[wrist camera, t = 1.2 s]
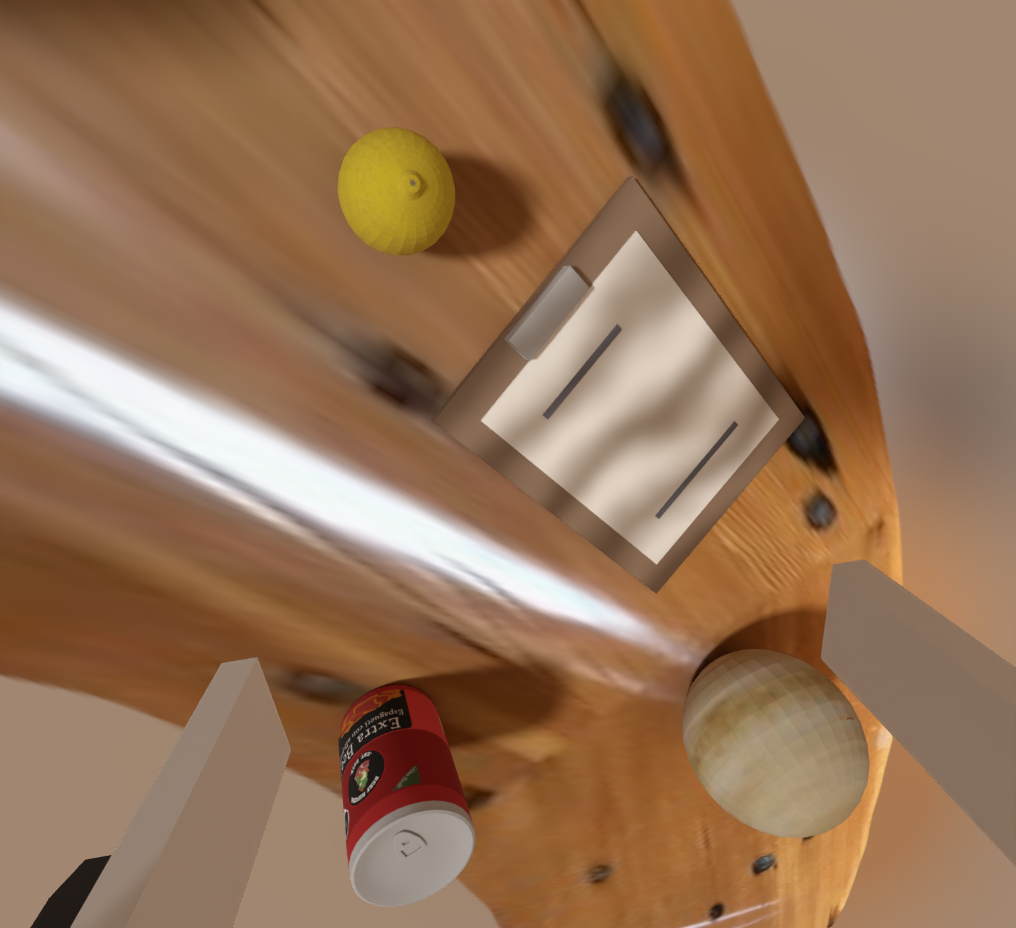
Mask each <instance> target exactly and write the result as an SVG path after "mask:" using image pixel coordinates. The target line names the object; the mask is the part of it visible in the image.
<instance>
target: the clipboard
mask: <svg viewBox="0 0 1016 928" xmlns="http://www.w3.org/2000/svg"><path fill="white" fill-rule="evenodd" d="M804 418H805V417H804V416H803V414H802V413H801V412H800V410H799V409H798V407H797V406H796V405H795V403H794V402H793V400H792V399H791V398H790V396H789V395H788V393H787V392H786V391H785V389H784V388H783V386H782V385H781V384H780V382H779V381H778V379H777V378H776V377H775V375H774V374H773V372H772V371H771V370H770V368H769V367H768V365H767V364H766V363H765V361H764V360H763V358H762V357H761V356H760V354H759V353H758V351H757V350H756V349H755V347H754V346H753V344H752V343H751V342H750V340H749V339H748V337H747V336H746V335H745V333H744V332H743V330H742V329H741V328H740V326H739V325H738V323H737V322H736V320H735V319H734V318H733V316H732V315H731V313H730V312H729V311H728V309H727V308H726V306H725V305H724V304H723V302H722V301H721V299H720V298H719V297H718V295H717V294H716V292H715V291H714V290H713V288H712V287H711V285H710V284H709V283H708V281H707V280H706V278H705V277H704V276H703V274H702V273H701V271H700V270H699V269H698V267H697V266H696V264H695V263H694V262H693V260H692V259H691V257H690V256H689V255H688V253H687V252H686V250H685V249H684V248H683V246H682V245H681V243H680V242H679V241H678V239H677V238H676V236H675V235H674V234H673V232H672V231H671V229H670V228H669V227H668V225H667V224H666V222H665V221H664V220H663V218H662V217H661V215H660V214H659V213H658V211H657V210H656V208H655V207H654V205H653V204H652V203H651V201H650V200H649V198H648V197H647V196H646V194H645V193H644V191H643V190H642V189H641V187H640V186H639V184H638V183H637V182H636V180H635V179H634V177H633V176H632V177H628V178H627V179H626V180H625V181H624V183H623V184H622V185H621V186H620V188H619V189H618V190H617V191H616V192H615V194H614V195H613V196H612V197H611V199H610V200H609V201H608V202H607V204H606V205H605V206H604V207H603V208H602V210H601V211H600V212H599V213H598V215H597V216H596V217H595V218H594V220H593V221H592V222H591V223H590V224H589V226H588V227H587V228H586V229H585V231H584V232H583V233H582V234H581V236H580V237H579V238H578V239H577V240H576V242H575V243H574V244H573V245H572V247H571V248H570V249H569V250H568V252H567V253H566V254H565V255H564V257H563V258H562V259H561V260H560V261H559V263H558V264H557V265H556V266H555V268H554V269H553V270H552V271H551V273H550V274H549V275H548V276H547V277H546V279H545V280H544V281H543V282H542V284H541V285H540V286H539V287H538V289H537V290H536V291H535V292H534V293H533V295H532V296H531V297H530V298H529V300H528V301H527V302H526V303H525V305H524V306H523V307H522V308H521V309H520V311H519V312H518V313H517V314H516V316H515V317H514V318H513V319H512V321H511V322H510V323H509V324H508V325H507V327H506V328H505V329H504V330H503V332H502V333H501V334H500V335H499V337H498V338H497V339H496V340H495V341H494V343H493V344H492V345H491V346H490V348H489V349H488V350H487V351H486V353H485V354H484V355H483V356H482V357H481V359H480V360H479V361H478V362H477V364H476V365H475V366H474V367H473V369H472V370H471V371H470V372H469V373H468V375H467V376H466V377H465V378H464V380H463V381H462V382H461V383H460V385H459V386H458V387H457V388H456V390H455V391H454V392H453V393H452V394H451V396H450V397H449V398H448V399H447V401H446V402H445V403H444V404H443V406H442V407H441V408H440V409H439V410H438V412H437V413H436V414H435V415H434V417H433V418H432V419H431V420H432V421H433V422H434V423H435V424H437V425H438V426H439V427H440V428H442V429H443V430H444V431H446V432H447V433H448V434H450V435H451V436H452V437H453V438H455V439H456V440H457V441H459V442H460V443H461V444H463V445H464V446H465V447H466V448H468V449H469V450H470V451H472V452H473V453H474V454H476V455H477V456H478V457H479V458H481V459H482V460H483V461H485V462H486V463H487V464H489V465H490V466H491V467H492V468H494V469H495V470H496V471H498V472H499V473H500V474H502V475H503V476H504V477H505V478H507V479H508V480H509V481H511V482H512V483H513V484H515V485H516V486H517V487H518V488H520V489H521V490H522V491H524V492H525V493H526V494H528V495H529V496H530V497H531V498H533V499H534V500H535V501H537V502H538V503H539V504H541V505H542V506H543V507H544V508H546V509H547V510H548V511H550V512H551V513H552V514H554V515H555V516H556V517H557V518H559V519H560V520H561V521H563V522H564V523H565V524H567V525H568V526H569V527H570V528H572V529H573V530H574V531H576V532H577V533H578V534H580V535H581V536H582V537H583V538H585V539H586V540H587V541H589V542H590V543H591V544H593V545H594V546H595V547H596V548H598V549H599V550H600V551H602V552H603V553H604V554H606V555H607V556H608V557H609V558H611V559H612V560H613V561H615V562H616V563H617V564H619V565H620V566H621V567H622V568H624V569H625V570H626V571H628V572H629V573H630V574H632V575H633V576H634V577H635V578H637V579H638V580H639V581H641V582H642V583H643V584H645V585H646V586H647V587H648V588H650V589H651V590H652V591H654V592H655V593H656V594H657V592H658V591H659V590H660V589H661V588H662V586H663V585H664V584H665V583H666V582H667V581H668V579H669V578H670V577H671V576H672V575H673V573H674V572H675V571H676V570H677V569H678V567H679V566H680V565H681V564H682V563H683V562H684V560H685V559H686V558H687V557H688V556H689V554H690V553H691V552H692V551H693V550H694V549H695V547H696V546H697V545H698V544H699V543H700V541H701V540H702V539H703V538H704V537H705V536H706V534H707V533H708V532H709V531H710V530H711V528H712V527H713V526H714V525H715V524H716V523H717V521H718V520H719V519H720V518H721V517H722V515H723V514H724V513H725V512H726V511H727V510H728V508H729V507H730V506H731V505H732V504H733V502H734V501H735V500H736V499H737V498H738V496H739V495H740V494H741V493H742V492H743V491H744V489H745V488H746V487H747V486H748V485H749V483H750V482H751V481H752V480H753V479H754V478H755V476H756V475H757V474H758V473H759V472H760V470H761V469H762V468H763V467H764V466H765V465H766V463H767V462H768V461H769V460H770V459H771V457H772V456H773V455H774V454H775V453H776V452H777V450H778V449H779V448H780V447H781V446H782V444H783V443H784V442H785V441H786V440H787V439H788V437H789V436H790V435H791V434H792V433H793V431H794V430H795V429H796V428H797V427H798V425H799V424H800V423H801V422H802V421H803V420H804Z"/></svg>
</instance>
